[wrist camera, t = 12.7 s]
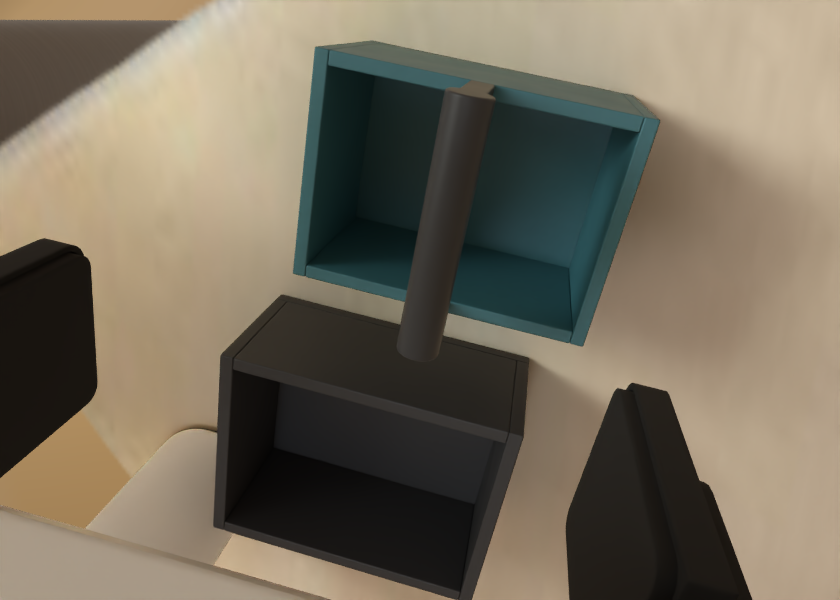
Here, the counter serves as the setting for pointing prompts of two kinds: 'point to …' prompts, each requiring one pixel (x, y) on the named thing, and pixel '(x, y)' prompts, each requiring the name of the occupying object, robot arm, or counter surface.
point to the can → (170, 501)
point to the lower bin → (366, 445)
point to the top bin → (465, 189)
